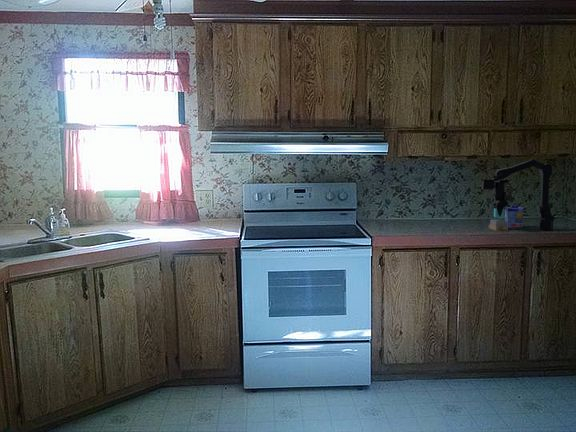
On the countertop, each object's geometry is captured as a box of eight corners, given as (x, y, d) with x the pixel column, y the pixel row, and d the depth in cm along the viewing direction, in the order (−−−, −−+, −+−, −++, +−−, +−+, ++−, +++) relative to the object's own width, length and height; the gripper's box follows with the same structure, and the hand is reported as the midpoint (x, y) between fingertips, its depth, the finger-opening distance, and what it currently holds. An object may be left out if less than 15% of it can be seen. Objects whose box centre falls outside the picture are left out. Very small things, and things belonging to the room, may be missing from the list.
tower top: (501, 224, 308) (501, 219, 307) (506, 226, 301) (507, 221, 300) (490, 224, 307) (490, 219, 307) (495, 226, 300) (496, 221, 300)
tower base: (500, 228, 309) (500, 224, 308) (508, 230, 301) (508, 226, 300) (488, 229, 307) (488, 224, 307) (495, 231, 300) (496, 226, 299)
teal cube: (493, 216, 306) (493, 208, 305) (502, 216, 305) (502, 208, 304) (495, 217, 301) (495, 209, 301) (504, 217, 300) (504, 209, 300)
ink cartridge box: (507, 227, 310) (508, 204, 308) (503, 225, 315) (504, 203, 313) (523, 227, 309) (524, 204, 307) (519, 225, 314) (521, 203, 312)
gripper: (518, 191, 290) (516, 217, 292) (510, 188, 308) (509, 213, 311) (497, 191, 292) (496, 217, 295) (491, 188, 310) (490, 213, 313)
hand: (498, 215), depth 303 cm, fingers closed on teal cube, 5 cm apart
